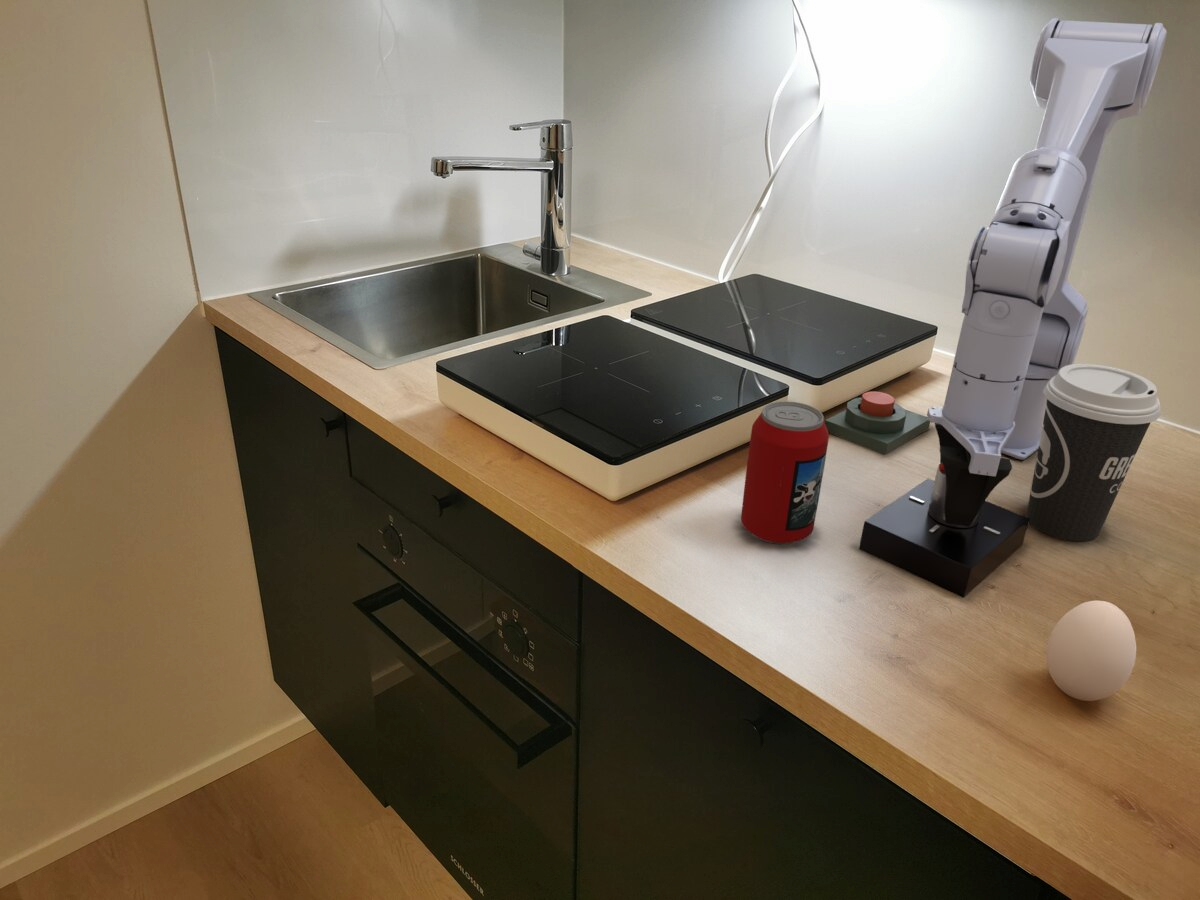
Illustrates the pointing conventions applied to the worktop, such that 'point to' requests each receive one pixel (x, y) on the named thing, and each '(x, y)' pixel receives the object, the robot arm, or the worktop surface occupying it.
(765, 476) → the beverage can
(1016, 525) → the panel
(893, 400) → the button
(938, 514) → the knob
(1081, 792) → the worktop surface
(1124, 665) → the egg
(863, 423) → the button block
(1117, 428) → the coffee cup
